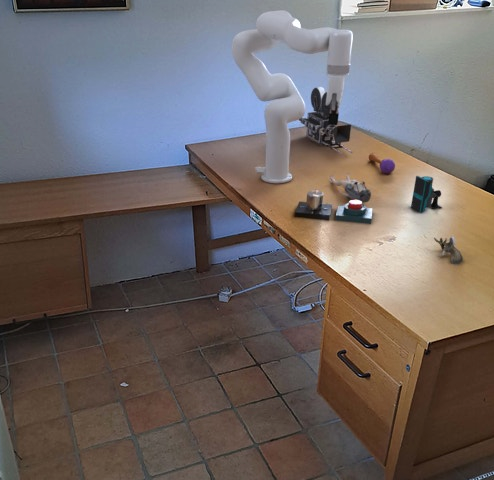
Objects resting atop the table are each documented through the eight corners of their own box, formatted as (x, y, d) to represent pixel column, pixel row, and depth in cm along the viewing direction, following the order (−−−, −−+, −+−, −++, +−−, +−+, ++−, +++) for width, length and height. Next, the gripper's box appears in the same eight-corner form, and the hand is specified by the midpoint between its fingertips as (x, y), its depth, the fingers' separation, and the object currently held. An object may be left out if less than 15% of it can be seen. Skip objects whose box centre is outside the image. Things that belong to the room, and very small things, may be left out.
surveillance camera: (450, 176, 192) (425, 180, 189) (443, 208, 198) (419, 213, 195) (439, 171, 196) (415, 175, 194) (433, 203, 203) (409, 207, 200)
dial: (320, 211, 194) (322, 196, 191) (304, 210, 195) (305, 194, 192) (323, 205, 198) (324, 190, 195) (307, 204, 200) (308, 189, 197)
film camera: (295, 134, 282) (298, 86, 270) (316, 132, 285) (320, 84, 272) (333, 158, 249) (338, 103, 237) (356, 155, 252) (363, 101, 240)
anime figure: (351, 168, 223) (380, 185, 195) (350, 186, 226) (378, 206, 198) (328, 170, 222) (354, 187, 195) (327, 188, 225) (352, 207, 198)
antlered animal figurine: (426, 248, 170) (443, 257, 161) (439, 228, 168) (457, 235, 160) (443, 259, 172) (461, 268, 164) (457, 239, 171) (475, 247, 162)
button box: (335, 220, 192) (336, 209, 190) (337, 210, 199) (338, 200, 197) (370, 224, 189) (372, 213, 187) (372, 213, 196) (373, 203, 194)
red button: (347, 209, 191) (348, 203, 190) (348, 204, 195) (349, 199, 194) (361, 210, 190) (361, 205, 189) (361, 205, 193) (362, 200, 192)
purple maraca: (380, 150, 244) (399, 161, 226) (376, 164, 246) (394, 176, 228) (367, 149, 243) (385, 160, 225) (364, 162, 245) (381, 174, 228)
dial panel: (294, 217, 195) (294, 211, 194) (298, 206, 203) (299, 200, 202) (329, 220, 192) (329, 214, 191) (332, 209, 200) (332, 203, 199)
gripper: (329, 65, 195) (324, 118, 205) (324, 73, 183) (319, 129, 193) (351, 66, 193) (345, 119, 203) (347, 74, 181) (341, 130, 191)
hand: (333, 124), depth 198 cm, fingers closed
